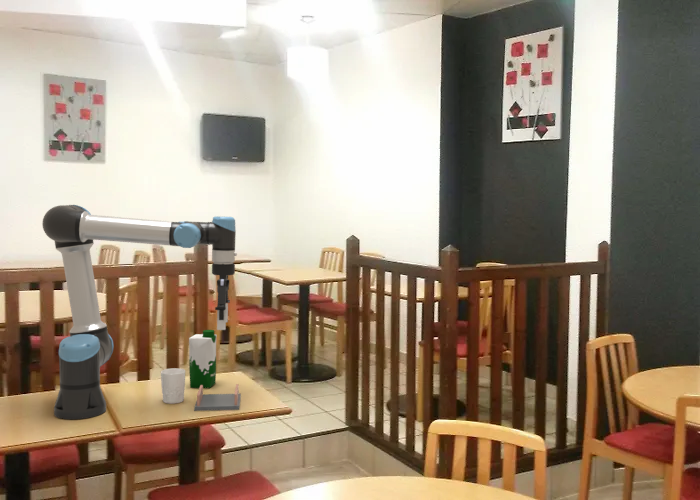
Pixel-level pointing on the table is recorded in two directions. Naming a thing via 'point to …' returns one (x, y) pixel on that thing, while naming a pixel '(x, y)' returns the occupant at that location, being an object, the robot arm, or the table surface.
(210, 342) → the milk carton
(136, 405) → the table surface
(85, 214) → the robot arm
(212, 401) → the end holder
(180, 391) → the white cup
